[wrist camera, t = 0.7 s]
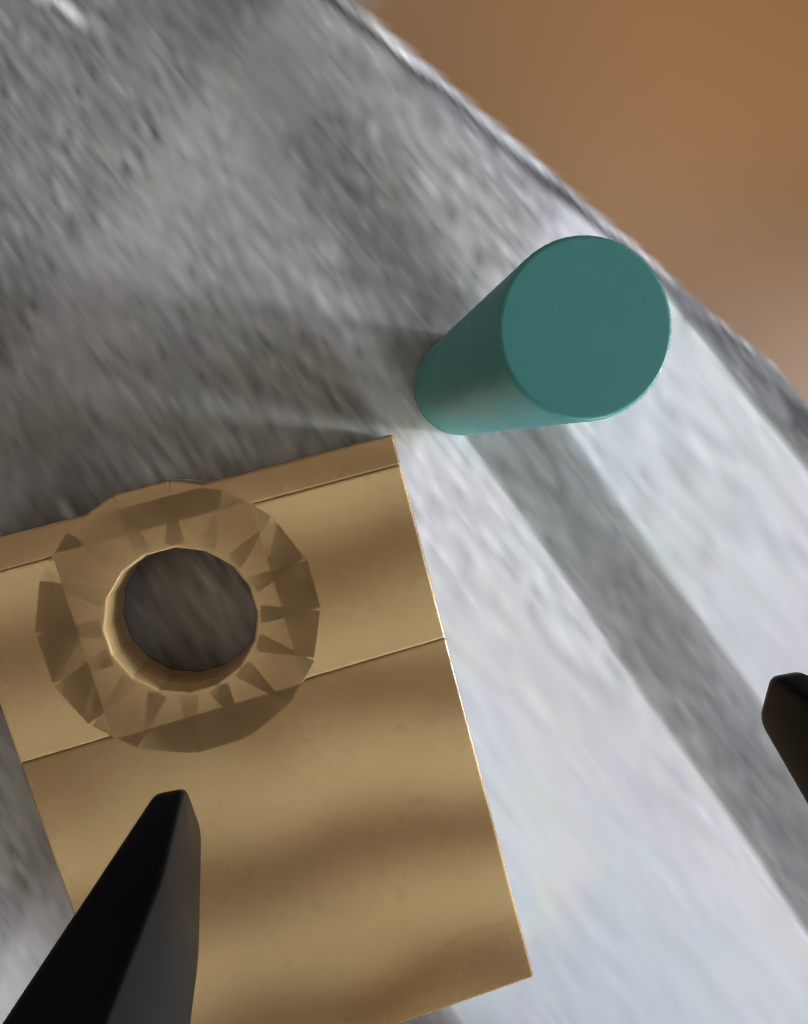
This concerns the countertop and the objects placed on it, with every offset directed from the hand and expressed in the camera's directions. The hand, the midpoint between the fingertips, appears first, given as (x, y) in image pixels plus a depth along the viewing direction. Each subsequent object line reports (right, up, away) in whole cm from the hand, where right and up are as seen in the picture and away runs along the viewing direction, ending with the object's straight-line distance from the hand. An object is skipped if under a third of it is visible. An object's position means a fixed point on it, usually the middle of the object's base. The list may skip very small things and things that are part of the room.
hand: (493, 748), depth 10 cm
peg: (+1, +8, +13) cm, 15 cm away
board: (-6, -5, +14) cm, 16 cm away
